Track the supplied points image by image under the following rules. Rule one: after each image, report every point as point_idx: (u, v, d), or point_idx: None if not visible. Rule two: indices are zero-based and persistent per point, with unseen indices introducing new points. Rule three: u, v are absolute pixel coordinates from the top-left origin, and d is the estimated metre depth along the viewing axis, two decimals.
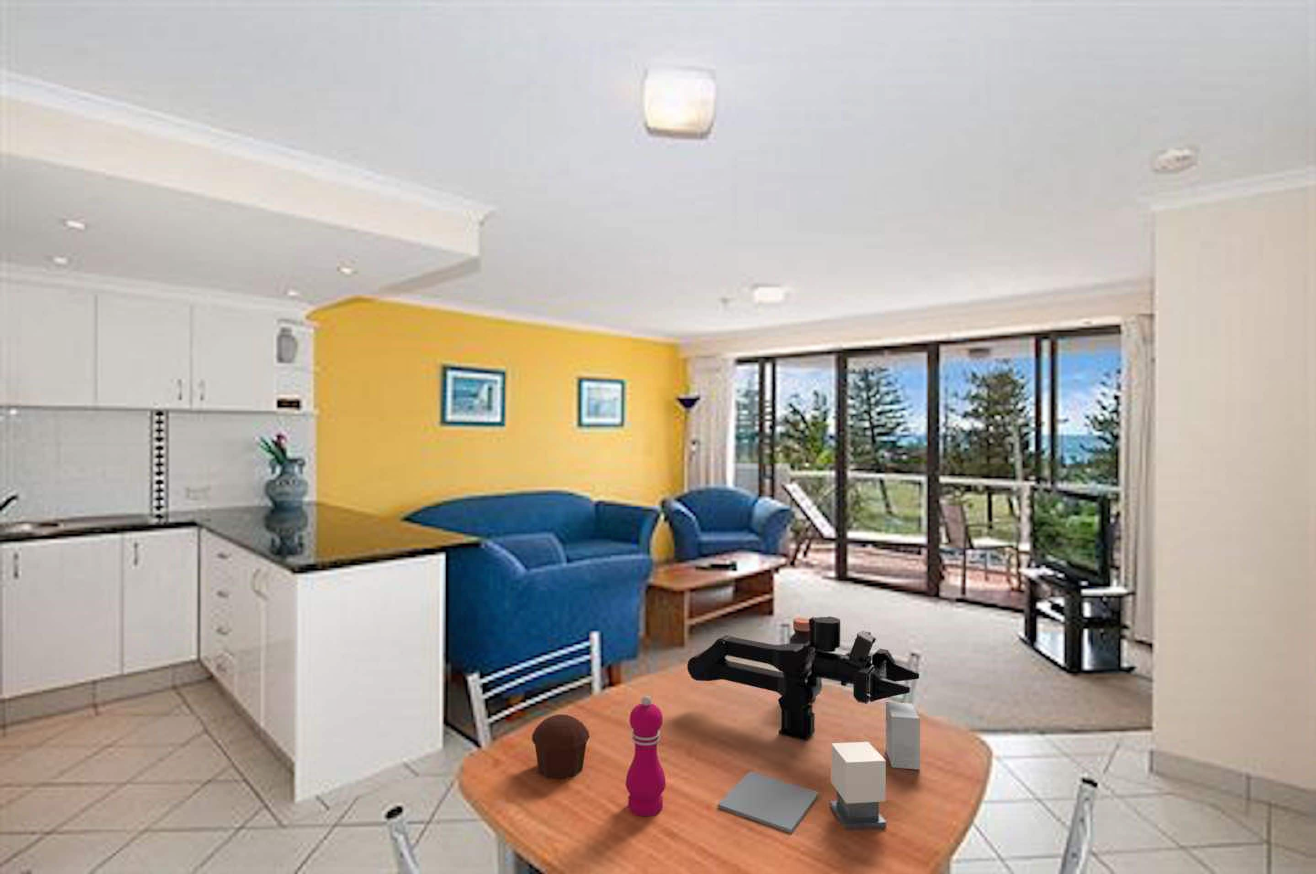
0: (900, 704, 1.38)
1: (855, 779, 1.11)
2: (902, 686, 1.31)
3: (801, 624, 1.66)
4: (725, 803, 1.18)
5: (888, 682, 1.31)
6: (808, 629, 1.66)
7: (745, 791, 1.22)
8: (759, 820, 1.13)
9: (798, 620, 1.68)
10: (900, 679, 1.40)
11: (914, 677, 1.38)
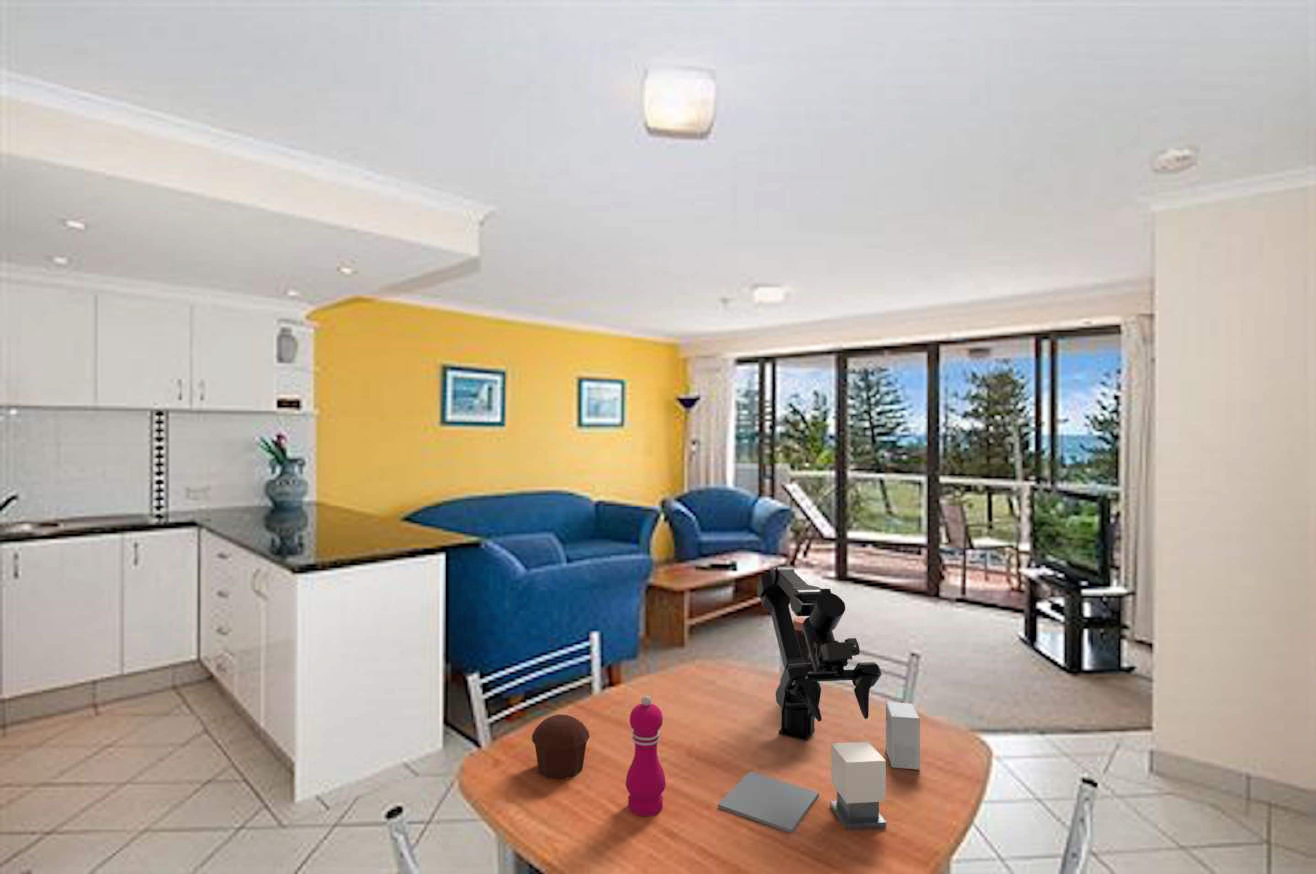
0: (900, 704, 1.38)
1: (855, 779, 1.11)
2: (816, 712, 1.22)
3: (801, 624, 1.66)
4: (725, 803, 1.18)
5: (809, 698, 1.24)
6: None
7: (745, 791, 1.22)
8: (759, 820, 1.13)
9: (798, 620, 1.68)
10: (858, 702, 1.27)
11: (863, 714, 1.24)
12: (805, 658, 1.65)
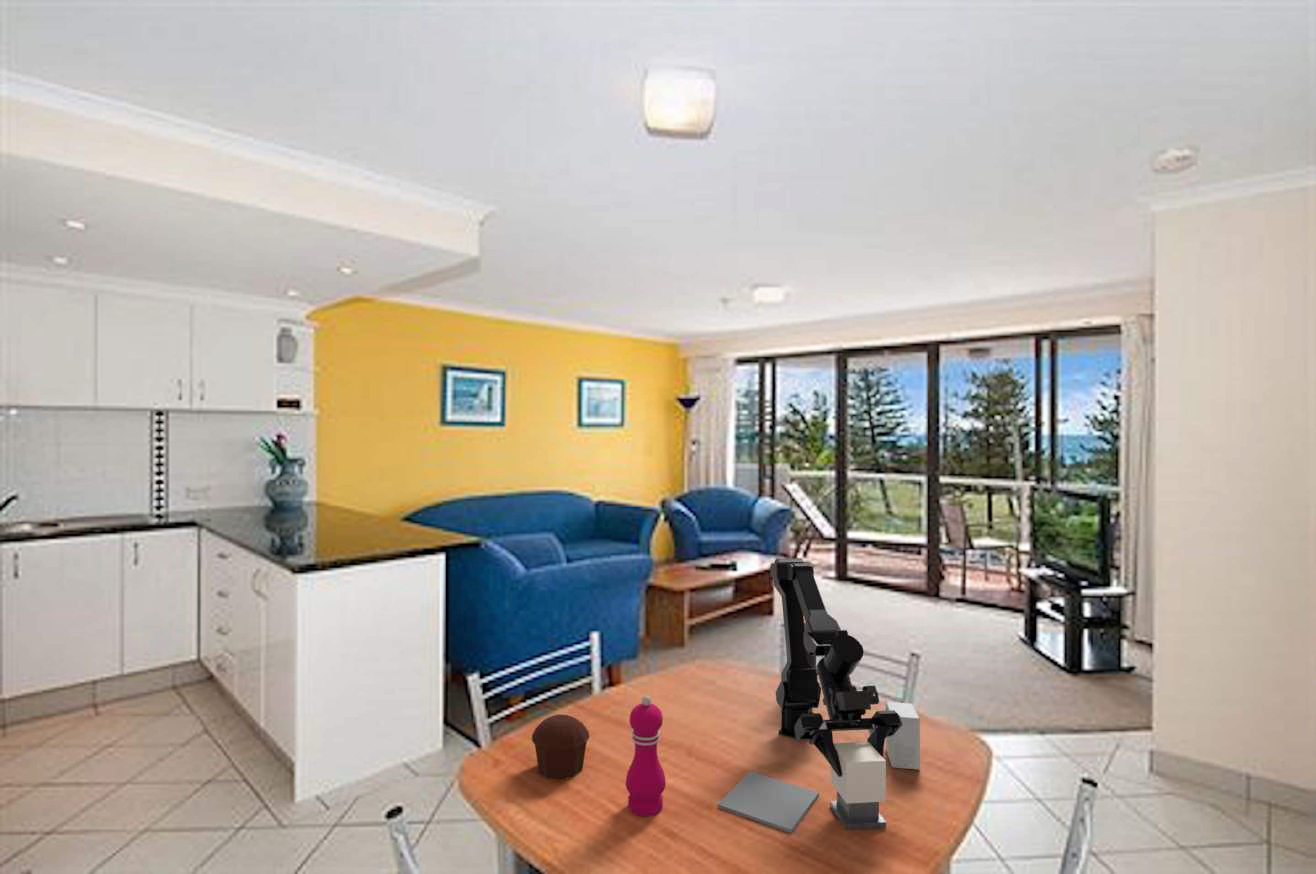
0: (900, 704, 1.38)
1: (855, 779, 1.11)
2: (836, 767, 1.13)
3: None
4: (725, 803, 1.18)
5: (829, 751, 1.15)
6: None
7: (745, 791, 1.22)
8: (759, 820, 1.13)
9: None
10: None
11: None
12: None
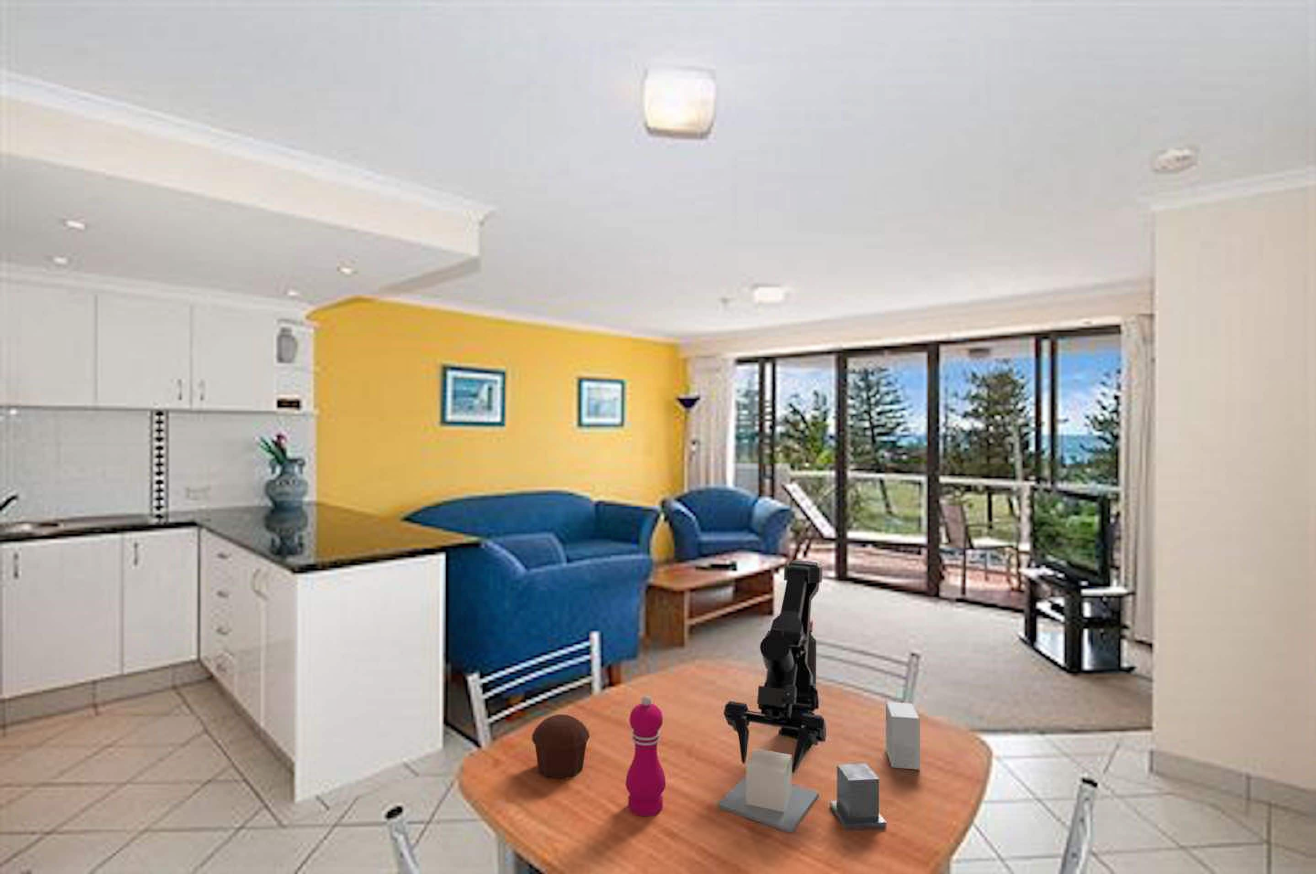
0: (900, 704, 1.38)
1: (754, 783, 1.17)
2: (741, 753, 1.21)
3: None
4: (725, 803, 1.18)
5: (739, 738, 1.22)
6: None
7: (745, 791, 1.22)
8: (759, 820, 1.13)
9: None
10: None
11: None
12: None
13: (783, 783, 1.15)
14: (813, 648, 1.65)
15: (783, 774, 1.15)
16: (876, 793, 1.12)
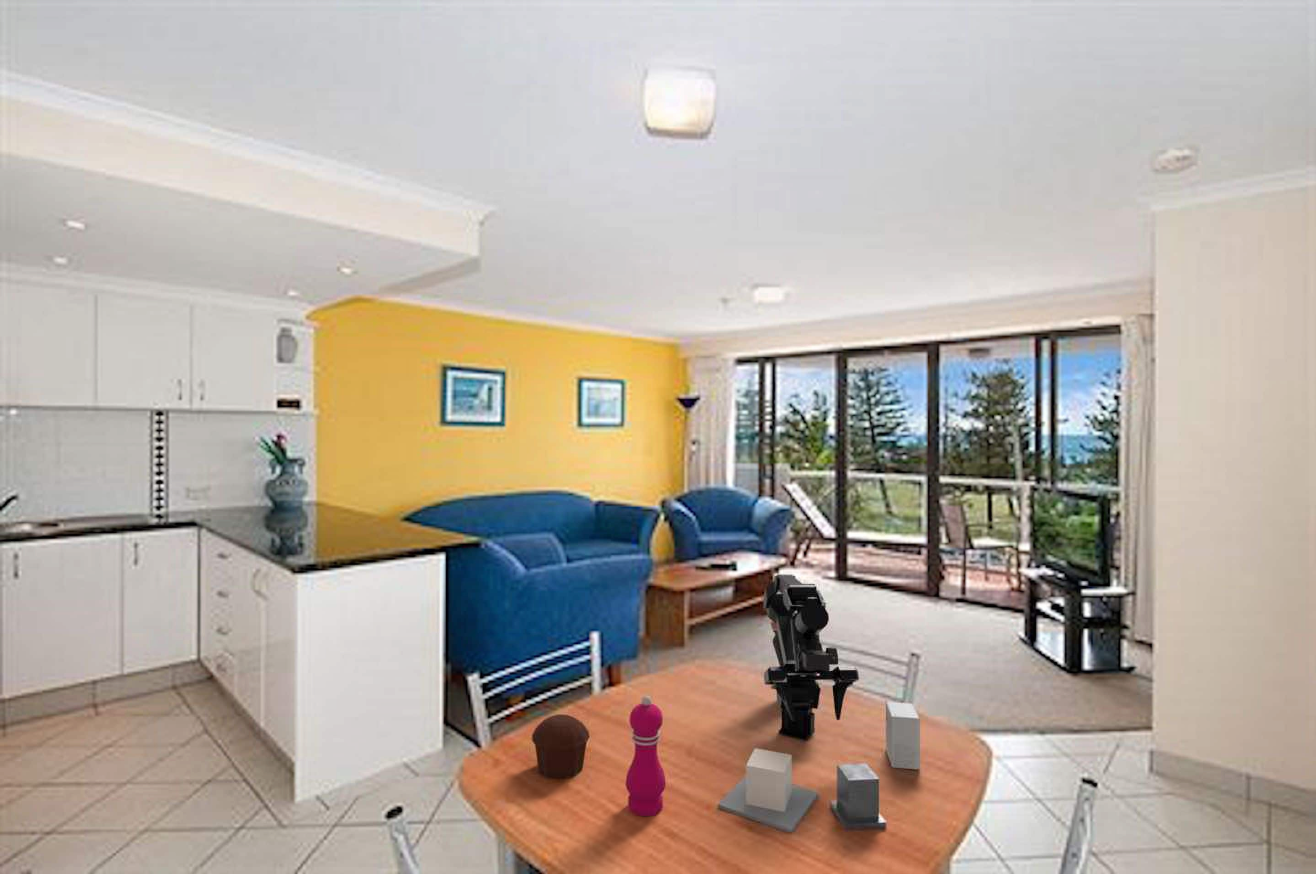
0: (900, 704, 1.38)
1: (754, 783, 1.17)
2: (790, 713, 1.32)
3: None
4: (725, 803, 1.18)
5: (785, 699, 1.33)
6: None
7: (745, 791, 1.22)
8: (759, 820, 1.13)
9: None
10: (834, 701, 1.35)
11: (836, 715, 1.33)
12: None
13: (783, 783, 1.15)
14: None
15: (783, 774, 1.15)
16: (876, 793, 1.12)
